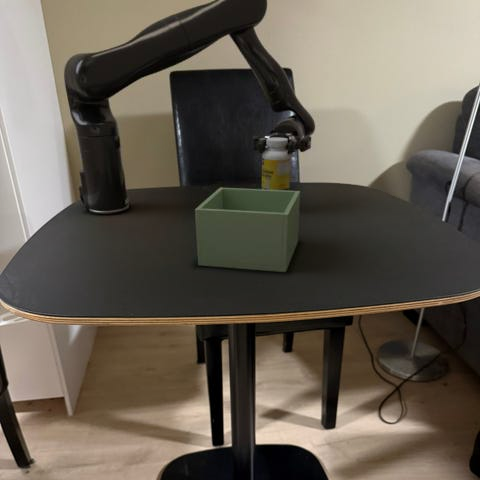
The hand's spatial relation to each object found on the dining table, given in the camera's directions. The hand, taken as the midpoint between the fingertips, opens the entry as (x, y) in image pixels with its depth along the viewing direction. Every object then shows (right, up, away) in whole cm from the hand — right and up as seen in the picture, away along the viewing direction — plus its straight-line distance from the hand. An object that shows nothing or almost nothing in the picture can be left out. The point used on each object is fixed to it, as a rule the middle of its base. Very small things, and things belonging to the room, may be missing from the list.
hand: (275, 148), depth 104 cm
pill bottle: (+1, -8, +7) cm, 10 cm away
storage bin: (-6, -25, -15) cm, 29 cm away
